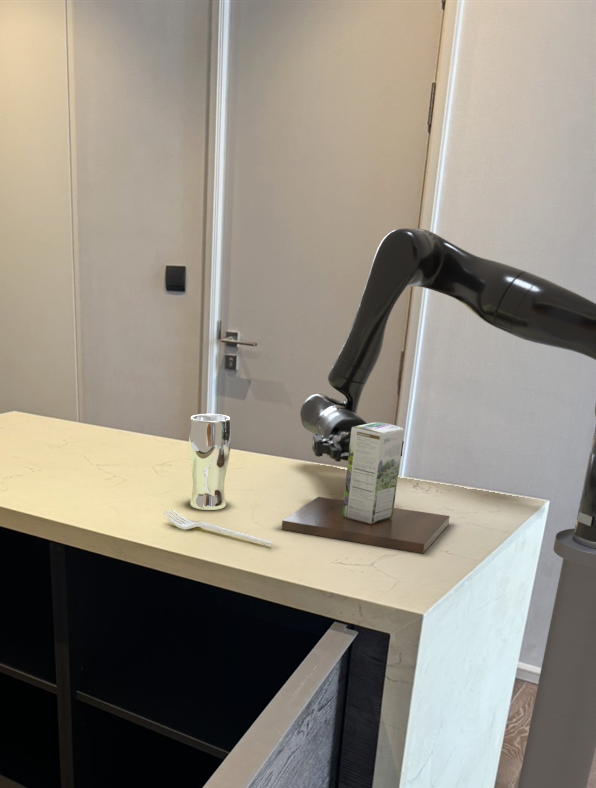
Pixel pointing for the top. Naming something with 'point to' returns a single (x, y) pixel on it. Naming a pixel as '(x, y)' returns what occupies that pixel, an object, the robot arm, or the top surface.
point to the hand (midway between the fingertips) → (366, 455)
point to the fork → (210, 528)
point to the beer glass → (209, 459)
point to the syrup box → (372, 472)
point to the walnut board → (368, 526)
